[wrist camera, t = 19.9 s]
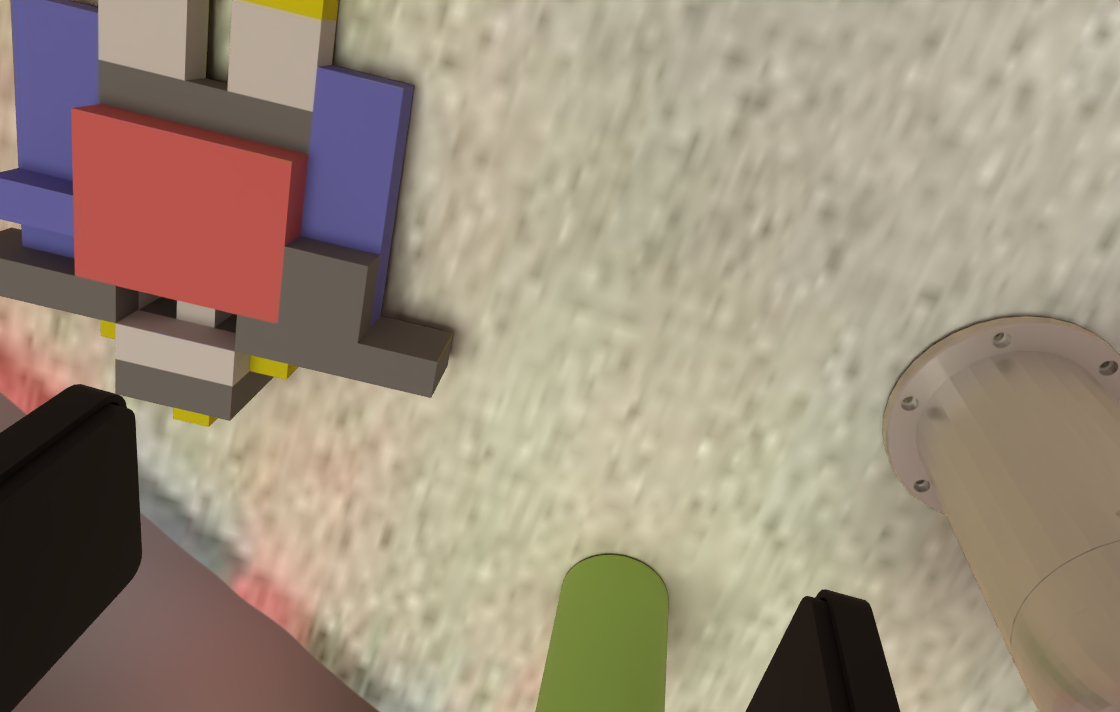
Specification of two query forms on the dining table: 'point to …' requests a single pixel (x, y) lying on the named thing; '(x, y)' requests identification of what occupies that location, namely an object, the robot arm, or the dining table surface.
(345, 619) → the dining table surface
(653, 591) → the tumbler
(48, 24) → the toy
